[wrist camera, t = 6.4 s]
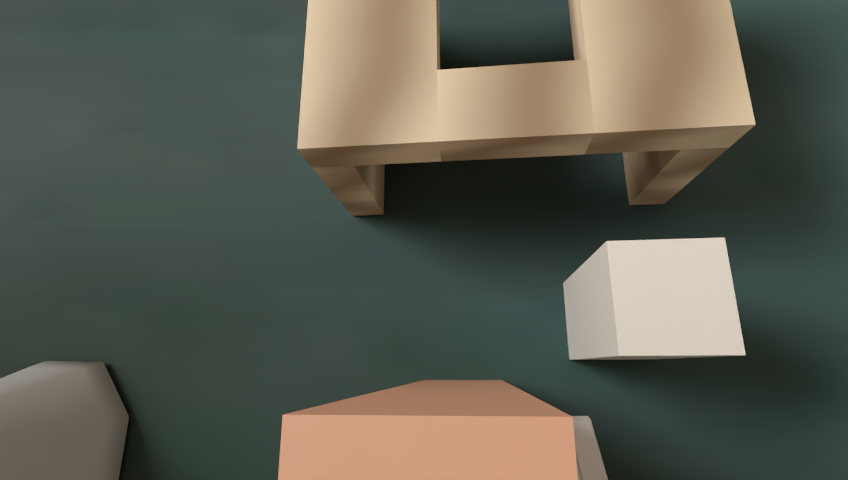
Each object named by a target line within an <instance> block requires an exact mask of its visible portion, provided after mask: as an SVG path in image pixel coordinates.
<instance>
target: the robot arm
mask: <svg viewBox="0 0 848 480" xmlns="http://www.w3.org/2000/svg"><path fill="white" fill-rule="evenodd" d="M572 417H573V426H574V438H575V451H576V463H577V475H578V480H608V478H607V474H606V471H605V467H604V464H603V460H602V457H601V453H600V450H599V446H598V443H597V439H596V436H595V432H594V429H593V425H592V422H591V419H590V418H589V417H588V416H572Z"/></svg>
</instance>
